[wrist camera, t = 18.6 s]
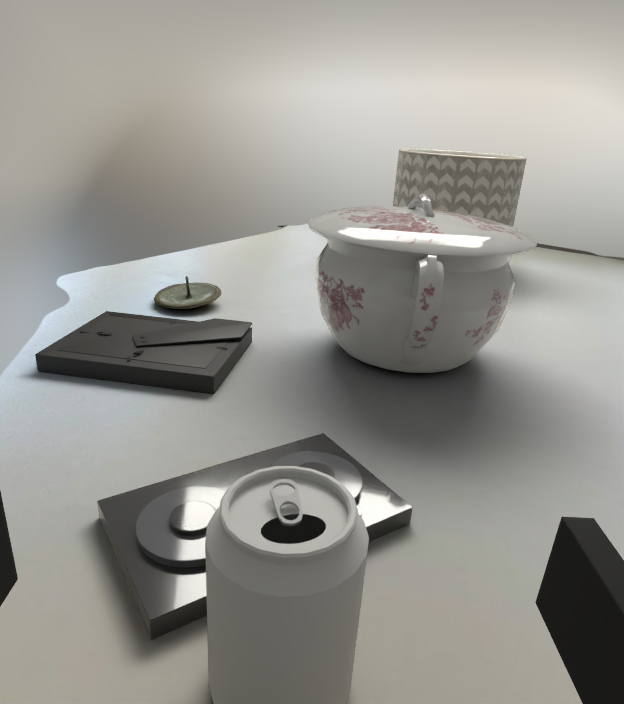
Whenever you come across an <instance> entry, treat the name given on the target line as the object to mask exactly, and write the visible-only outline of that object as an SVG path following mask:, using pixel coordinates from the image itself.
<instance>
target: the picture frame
mask: <svg viewBox="0 0 624 704" xmlns="http://www.w3.org/2000/svg"><path fill="white" fill-rule="evenodd" d="M251 325H252V323H251V322H242V321H233V320H224V319H211V320H206V321H201V322H196V321H188V320H179V319H170V318H161V317H152V316H143V315H134V314H126V313H117V312H108V311H106V312H105V313H103V314H101V315H100V316H98V317H96V318H95V319H93V320H91V321H90V322H88V323H86V324H85V325H83V326H81V327H80V328H78V329H76V330H75V331H73V332H72V333H70V334H68V335H67V336H65V337H63V338H62V339H60V340H58V341H57V342H55V343H53V344H52V345H50V346H48V347H47V348H45V349H44V350H42V351H40V352H39V353H37V354H35V355H36V362H37V369H38V371H41V372H49V373H56V374H64V375H72V376H80V377H87V378H95V379H103V380H110V381H118V382H126V383H134V384H141V385H149V386H157V387H164V388H172V389H180V390H187V391H195V392H203V393H211V394H214V393H215V392H216V390H217V389H218V387H219V386H220V385H221V383H222V382H223V381H224V379H225V378H226V376H227V375H228V374H229V372H230V371H231V370H232V368H233V367H234V365H235V364H236V363H237V361H238V360H239V359H240V357H241V356H242V355H243V353H244V352H245V350H246V349H247V348H248V346H249V345H250V344H251V342H252V328H250V326H251Z"/></svg>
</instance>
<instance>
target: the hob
mask: <svg viewBox="0 0 624 704" xmlns="http://www.w3.org/2000/svg"><path fill="white" fill-rule="evenodd" d="M274 466H298V467H304V468H309V469H314V470H317V471H319V472H322V473H324V474H327V475H329V476H331V477H333V478H334V479H335V480H337V481H338V482H340V483H341V484H343V485H344V486H345V487H346V488H347V489H348V491H349V492H350V493H351V494H352V496H353V497H354V498H355V502H356V506H357V509H358V514H359V515H360V516H361V518H362V519H363V520H364V522H365V526H366V529H367V533H368V536H369V541H371V540H374V539H376V538H378V537H380V536H382V535H385V534H387V533H389V532H391V531H394V530H396V529H398V528H400V527H402V526H405V525H407V524H409V523H410V520H411V514H412V507H411V506H410V505H409V504H408V503H407V502H405V501H404V500H403V499H402V498H401V497H399V496H398V495H397V494H396V493H395V492H393V491H392V490H391V489H390V488H388V487H387V486H386V485H385V484H384V483H382V482H381V481H380V480H379V479H378V478H376V477H375V476H374V475H373V474H372V473H370V472H369V471H368V470H367V469H366V468H364V467H363V466H362V465H361V464H360V463H358V462H357V461H356V460H355V459H354V458H352V457H351V456H350V455H349V454H348V453H346V452H345V451H344V450H343V449H342V448H340V447H339V446H338V445H337V444H336V443H334V442H333V441H332V440H331V439H330V438H328V437H327V436H326V435H325V434H324V433H322V434H319V435H316V436H312V437H309V438H306V439H302V440H299V441H296V442H292V443H289V444H286V445H282V446H279V447H276V448H272V449H269V450H266V451H262V452H259V453H255V454H252V455H249V456H245V457H242V458H239V459H235V460H232V461H229V462H225V463H222V464H219V465H215V466H212V467H209V468H205V469H202V470H199V471H195V472H192V473H189V474H185V475H182V476H179V477H175V478H172V479H169V480H165V481H162V482H159V483H155V484H152V485H149V486H145V487H142V488H138V489H135V490H132V491H128V492H125V493H122V494H118V495H115V496H112V497H108V498H105V499H102V500H98V501H97V503H98V512H99V518H100V520H101V523H102V525H103V527H104V530H105V532H106V534H107V537H108V539H109V541H110V544H111V546H112V549H113V551H114V553H115V556H116V558H117V560H118V563H119V565H120V567H121V570H122V572H123V575H124V577H125V579H126V582H127V584H128V586H129V589H130V591H131V593H132V596H133V598H134V601H135V603H136V605H137V608H138V610H139V612H140V615H141V617H142V619H143V622H144V624H145V627H146V629H147V631H148V634H149V636H150V638H151V639H154V638H156V637H158V636H160V635H162V634H165V633H167V632H169V631H171V630H174V629H176V628H178V627H180V626H182V625H185V624H187V623H189V622H191V621H194V620H196V619H198V618H200V617H202V616H205V615H207V592H206V553H205V541H206V531H207V525H208V523H209V521H210V519H211V518H212V516H213V514H214V512H215V511H216V509H217V508H218V507H220V501H221V499H222V497H223V496H224V494H225V492H226V490H227V489H228V488H229V487H230V486H231V485H232V484H233V483H235V482H236V481H237V480H238V479H239V478H241V477H243V476H245V475H248V474H250V473H252V472H254V471H256V470H260V469H265V468H269V467H274Z"/></svg>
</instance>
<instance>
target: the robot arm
mask: <svg viewBox="0 0 624 704" xmlns="http://www.w3.org/2000/svg"><path fill="white" fill-rule="evenodd" d="M17 579H18V578H17V573H16V568H15V562H14V557H13V552H12V547H11V542H10V537H9V532H8V527H7V522H6V517H5V512H4V507H3V502H2V497H1V492H0V606H1V605H2V603H3V601H4V600H5V598H6V597H7V595H8V594H9V592H10V590H11V589H12V587H13V586H14V584H15V583H16V581H17ZM536 605H537V607H538V609H539V611H540V613H541V615H542V617H543V619H544V622H545V624H546V626H547V628H548V630H549V632H550V634H551V637H552V639H553V641H554V643H555V645H556V647H557V649H558V652H559V654H560V656H561V658H562V660H563V662H564V664H565V667H566V669H567V671H568V673H569V675H570V677H571V679H572V682H573V684H574V686H575V688H576V690H577V692H578V694H579V697H580V699H581V701H582V703H583V704H624V560H623V559H622V557H621V556H620V555H619V553H618V552H617V550H616V549H615V548H614V546H613V545H612V543H611V542H610V541H609V539H608V538H607V536H606V535H605V534H604V532H603V531H602V529H601V528H600V527H599V525H598V524H597V522H596V521H595V520H594V518H576V517H562V518H561V521H560V524H559V528H558V531H557V534H556V537H555V541H554V544H553V547H552V551H551V554H550V557H549V560H548V564H547V567H546V570H545V573H544V577H543V580H542V583H541V586H540V590H539V593H538V596H537V600H536Z"/></svg>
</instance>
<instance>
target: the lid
mask: <svg viewBox="0 0 624 704" xmlns="http://www.w3.org/2000/svg"><path fill="white" fill-rule="evenodd" d="M220 295H221V290H220V289H219V288H218V287H217V286H214V285H212V284H208V283H188V277H187V276H186V283H185V284H175V285H172V286H169V287H166V288H164V289H162V290H161V291H159V292H158V293H157V294H156V295H155V297H154V301H155V303H156V304H158V305H160V306H163V307H168V308H174V309H186V308H195V307H199V306H202V305H205V304H208V303H210V302H212V301H214V300H216V299H217V298H218V297H219V296H220Z"/></svg>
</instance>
